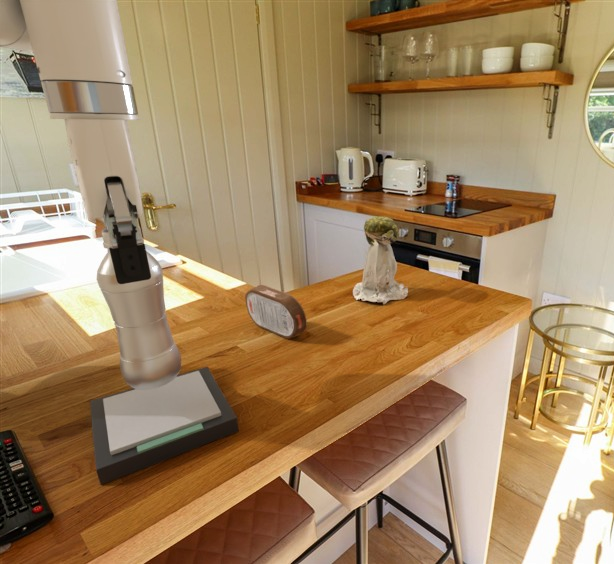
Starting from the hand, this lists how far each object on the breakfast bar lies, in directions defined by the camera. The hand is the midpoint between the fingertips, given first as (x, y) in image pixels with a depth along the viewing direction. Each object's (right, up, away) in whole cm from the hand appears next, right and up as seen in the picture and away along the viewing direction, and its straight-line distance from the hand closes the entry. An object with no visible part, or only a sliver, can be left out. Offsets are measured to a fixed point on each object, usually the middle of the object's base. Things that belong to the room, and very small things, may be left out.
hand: (130, 270), depth 49 cm
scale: (0, -20, +8) cm, 21 cm away
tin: (+7, -11, +33) cm, 35 cm away
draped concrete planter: (+27, -4, +51) cm, 58 cm away
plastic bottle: (0, -14, +5) cm, 15 cm away
